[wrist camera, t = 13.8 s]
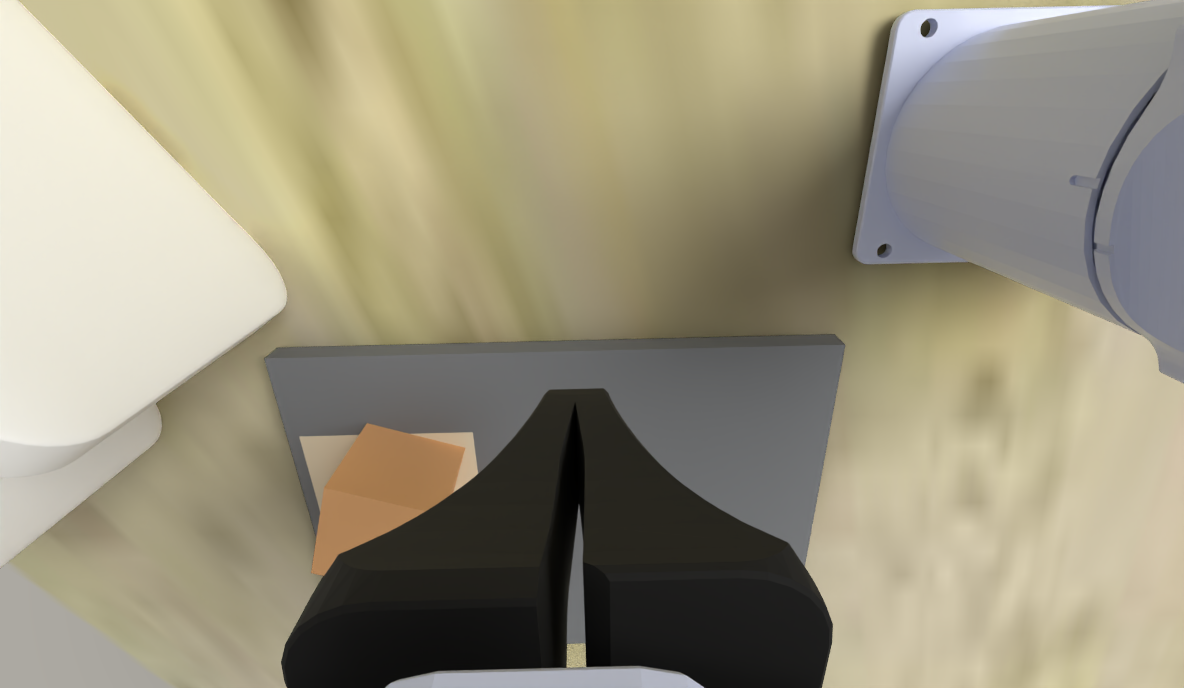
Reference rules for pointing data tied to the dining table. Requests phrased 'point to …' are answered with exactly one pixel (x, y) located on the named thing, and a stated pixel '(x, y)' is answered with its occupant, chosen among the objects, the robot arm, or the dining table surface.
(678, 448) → the grey rectangular board
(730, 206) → the dining table surface
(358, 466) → the plug block
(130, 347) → the cable organizer
